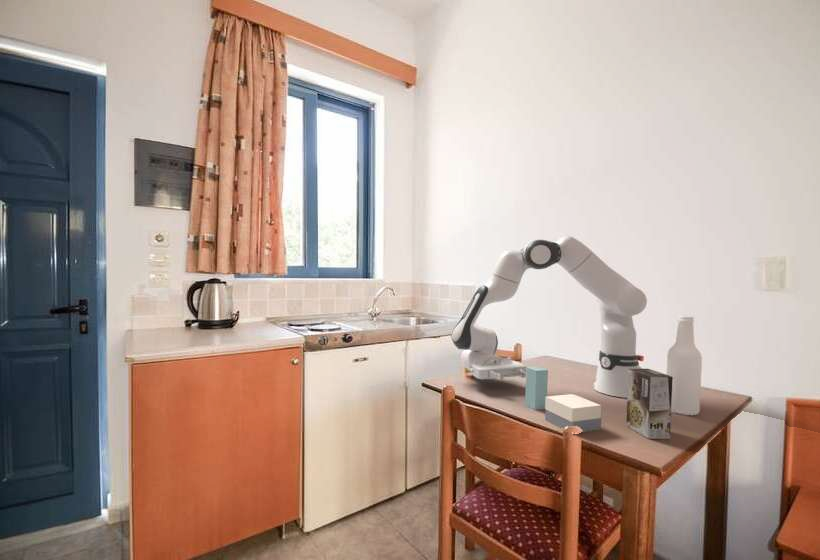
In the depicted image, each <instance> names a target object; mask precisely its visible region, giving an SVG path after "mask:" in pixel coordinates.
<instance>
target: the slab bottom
mask: <svg viewBox="0 0 820 560" xmlns="http://www.w3.org/2000/svg"><path fill="white" fill-rule="evenodd" d="M544 418H545V419H544V420H545V421H546V422H547V423H550V424H552V425H554V426H556V427H558V428H559V427H560V428H559V429H561V428H564V427H566V426H578V427H580V428H581V429H582V430H583V433H587V432H586V431H589V432H593V431H592V430H595V431H600V430H599V429H601V428H602V418H598V419H590V420H583V421H576V422H571V421H569V420H567V419H565V418H563V417H561V416H558V415H556V414H554V413H552V412H550V411H548V410H546V409H545V415H544Z"/></svg>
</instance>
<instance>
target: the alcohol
mask: <svg viewBox="0 0 820 560" xmlns="http://www.w3.org/2000/svg"><path fill="white" fill-rule="evenodd" d="M677 317H678V320H677V321H678V325H677V330H676V338H675V339H676V340H675V343H674V344H673V345H672V346H671V347H669V349H668V352H667V353H666V356H667V357H666V375H669V376H672V377H673V380H672V403H671V413H674V414H677V413H678V415H681V414H682V415H683V416H688V415H689V416H690V415H691V417H694V416H693V415H695V416H697V415H698V414H699V413H700V411H701V410H700V408H701V390H702V389H701V386H702V385H701V384H702V369H703V367H702V365H703V357H702V353H701V352H700V351H699V349H698V348H697V347H696V344H695V334H694V331H695V330H694V322H695V321H694V319H695V317H694V316H692V315H683V314H681V315H680V314H679V315H678V316H677Z"/></svg>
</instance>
